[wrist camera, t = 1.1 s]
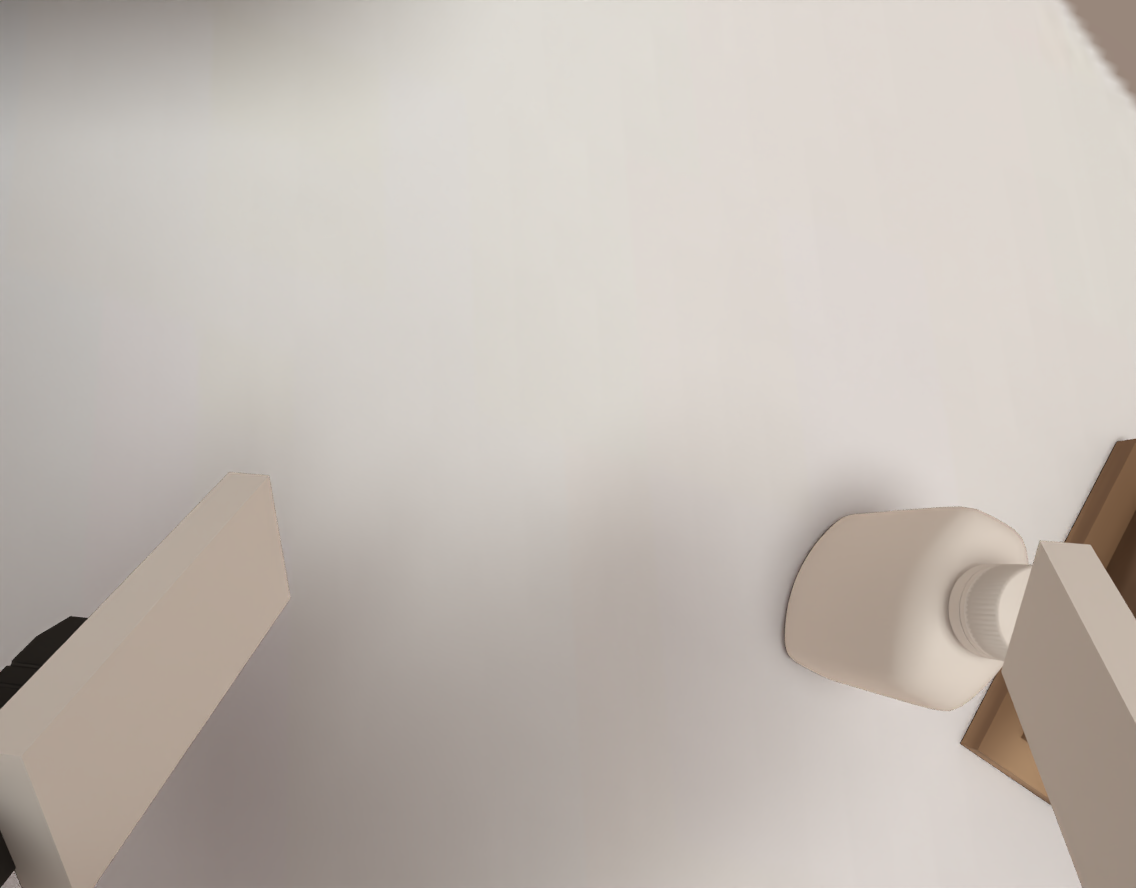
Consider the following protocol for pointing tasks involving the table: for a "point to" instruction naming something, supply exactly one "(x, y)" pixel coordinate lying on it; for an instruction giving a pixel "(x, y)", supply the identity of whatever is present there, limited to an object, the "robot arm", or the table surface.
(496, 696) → the table surface
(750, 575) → the table surface
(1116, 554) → the square wooden tray stand
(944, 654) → the eye dropper bottle
